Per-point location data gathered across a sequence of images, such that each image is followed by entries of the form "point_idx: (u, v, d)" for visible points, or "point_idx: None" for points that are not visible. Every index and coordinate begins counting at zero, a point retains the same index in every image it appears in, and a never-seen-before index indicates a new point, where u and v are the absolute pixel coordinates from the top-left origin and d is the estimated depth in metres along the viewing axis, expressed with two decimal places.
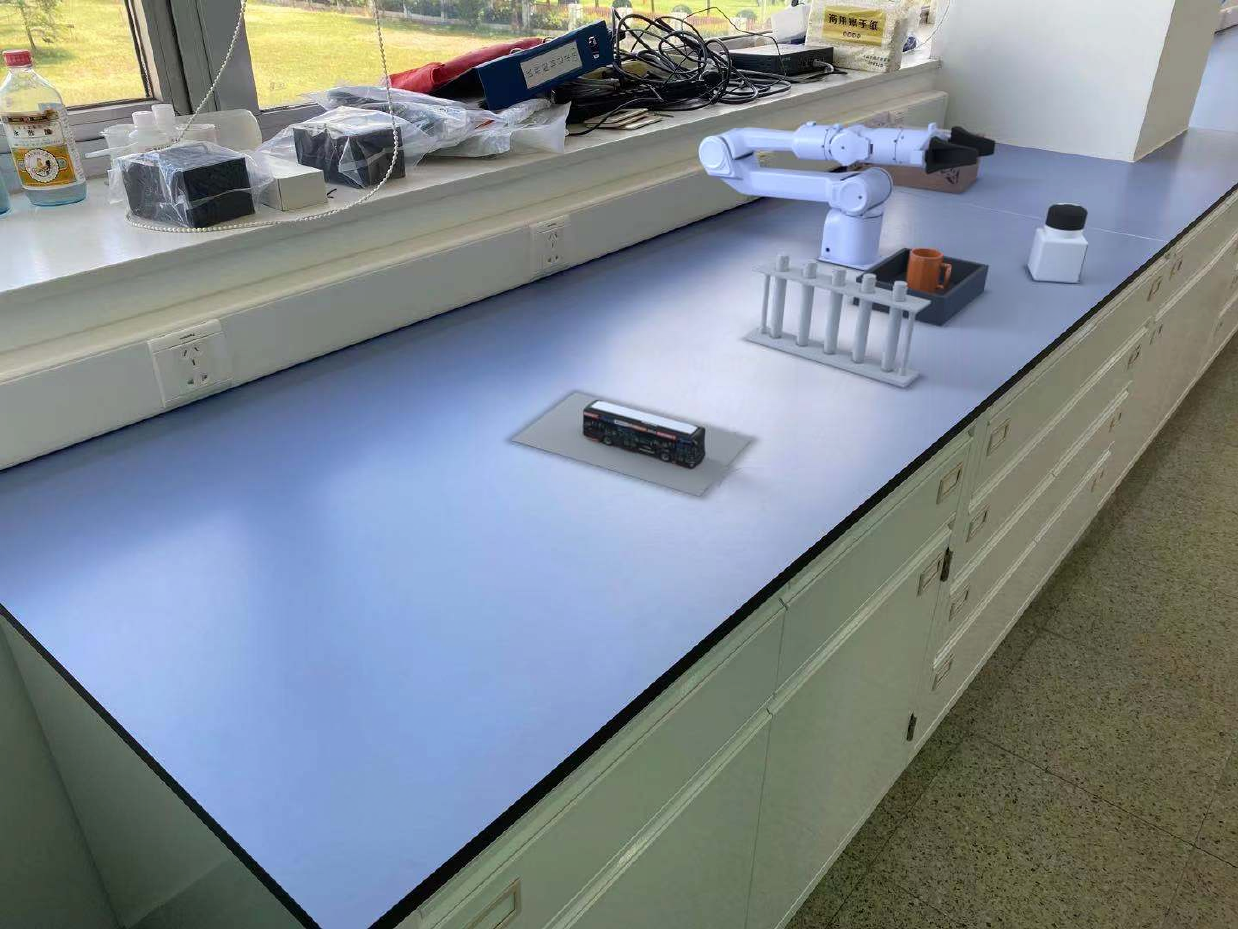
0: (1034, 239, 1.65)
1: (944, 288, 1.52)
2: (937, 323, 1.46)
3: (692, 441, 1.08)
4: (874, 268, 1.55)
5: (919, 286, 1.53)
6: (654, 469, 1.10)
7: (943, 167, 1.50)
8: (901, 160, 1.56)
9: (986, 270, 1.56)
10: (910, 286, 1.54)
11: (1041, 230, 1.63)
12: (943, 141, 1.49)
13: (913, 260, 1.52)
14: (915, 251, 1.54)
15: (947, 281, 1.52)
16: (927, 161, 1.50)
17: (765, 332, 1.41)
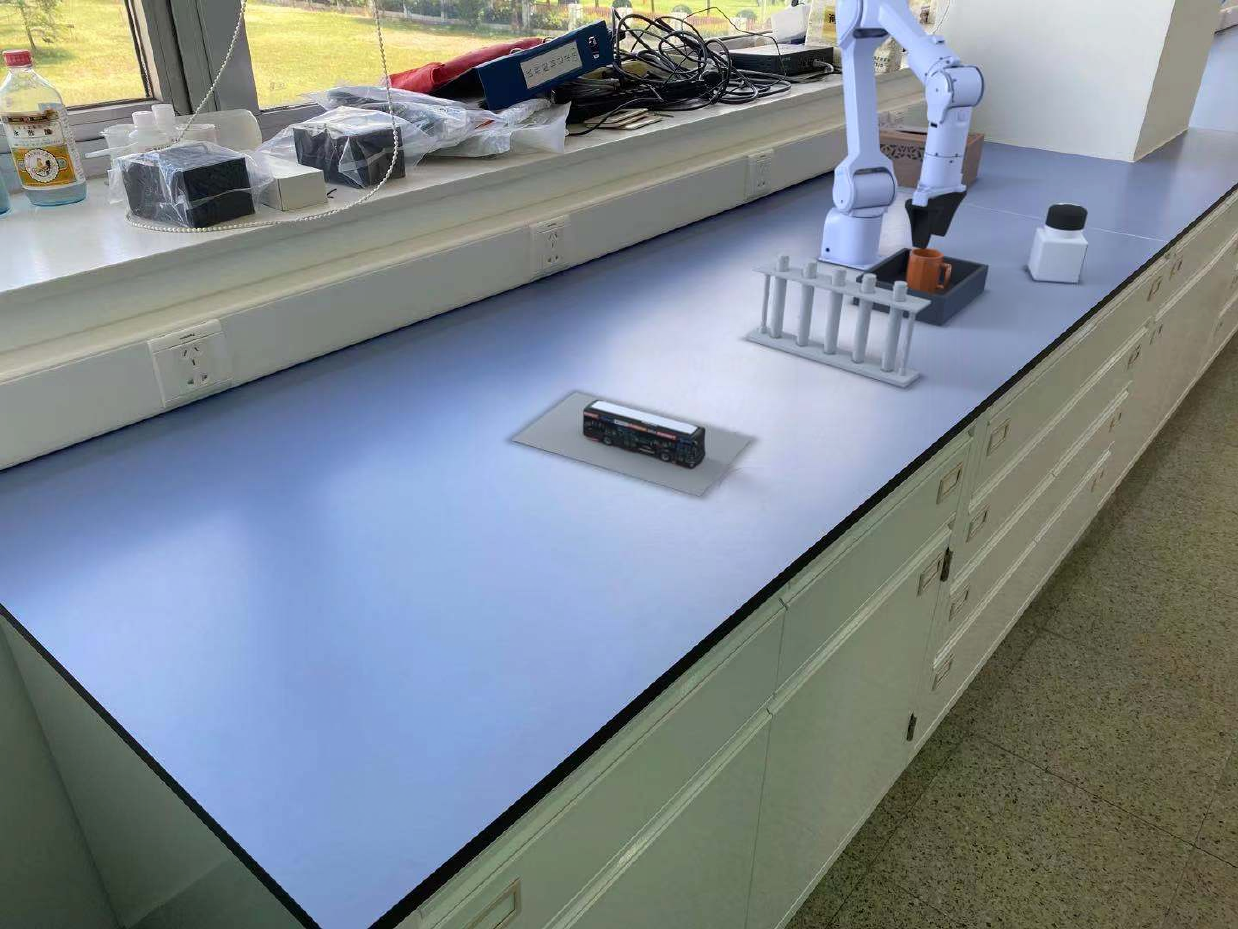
0: (1034, 239, 1.65)
1: (944, 288, 1.52)
2: (937, 323, 1.46)
3: (692, 441, 1.08)
4: (874, 268, 1.55)
5: (919, 286, 1.53)
6: (654, 469, 1.10)
7: (910, 218, 1.46)
8: (926, 160, 1.44)
9: (986, 270, 1.56)
10: (910, 286, 1.54)
11: (1041, 230, 1.63)
12: (936, 217, 1.44)
13: (913, 260, 1.52)
14: (915, 251, 1.54)
15: (947, 281, 1.52)
16: (916, 205, 1.44)
17: (765, 332, 1.41)
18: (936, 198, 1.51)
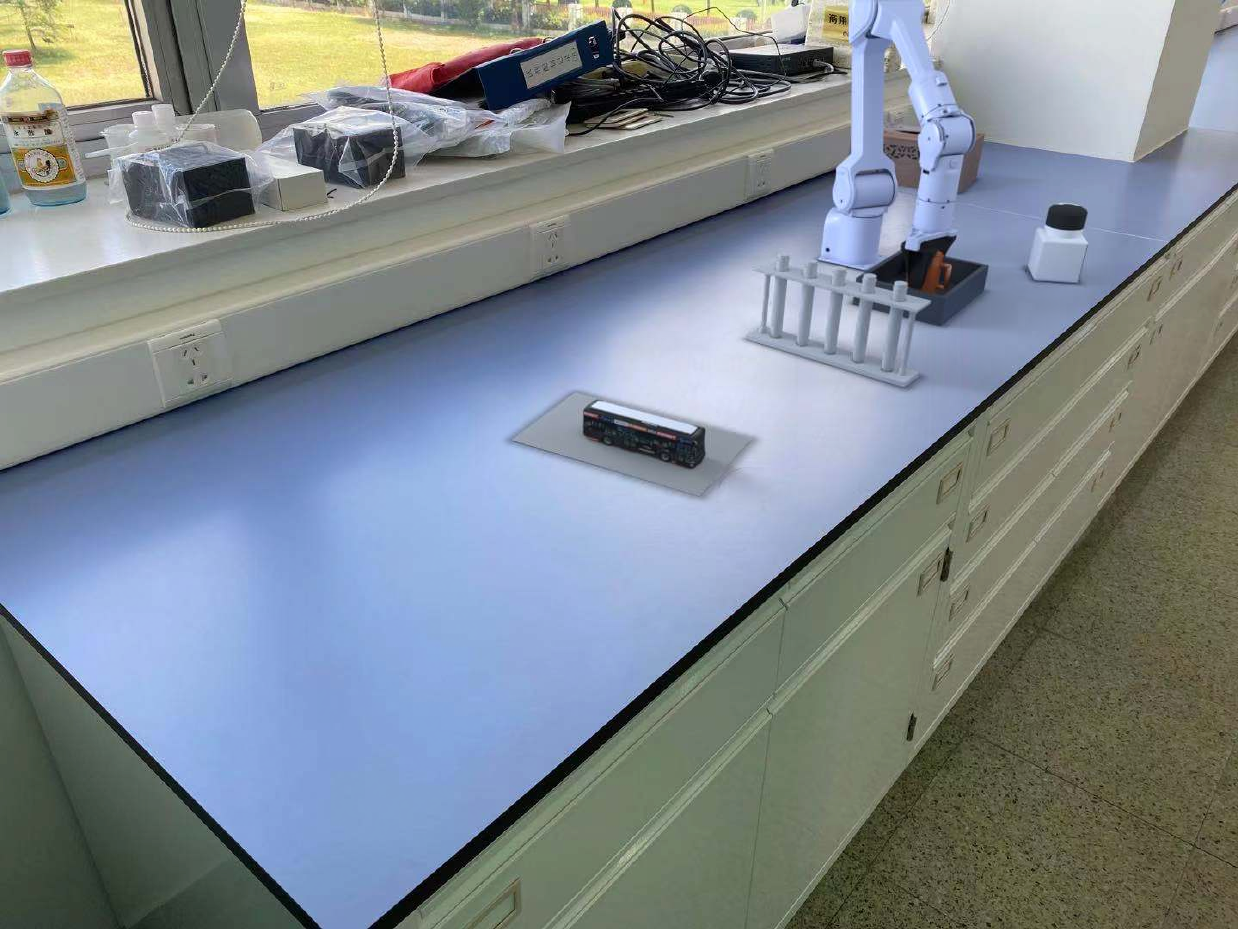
0: (1034, 239, 1.65)
1: (944, 288, 1.52)
2: (937, 323, 1.46)
3: (692, 441, 1.08)
4: (874, 268, 1.55)
5: None
6: (654, 469, 1.10)
7: (906, 259, 1.50)
8: (919, 205, 1.47)
9: (986, 270, 1.56)
10: None
11: (1041, 230, 1.63)
12: (932, 258, 1.49)
13: None
14: None
15: (947, 281, 1.52)
16: None
17: (765, 332, 1.41)
18: None
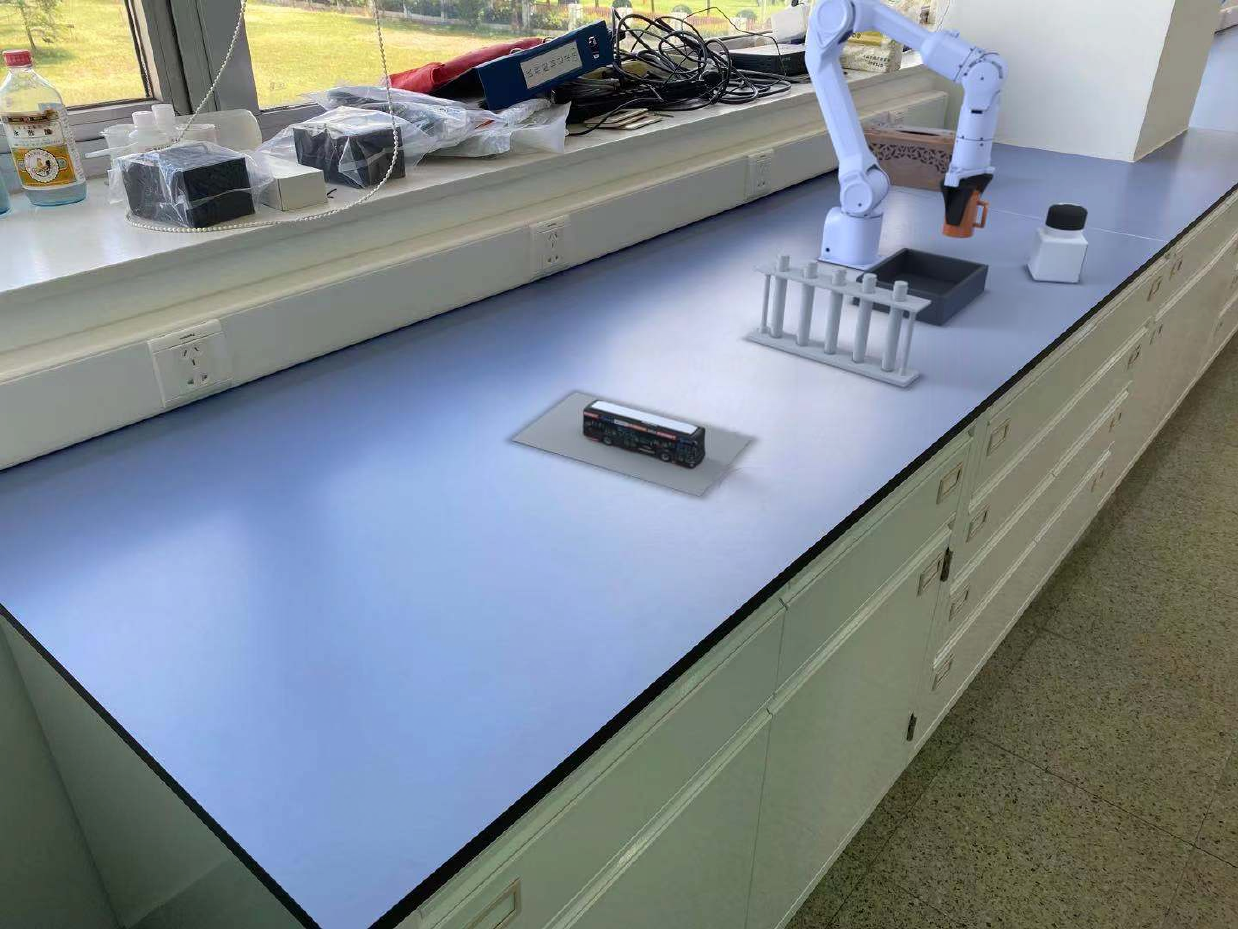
0: (1034, 239, 1.65)
1: (981, 226, 1.57)
2: (937, 323, 1.46)
3: (692, 441, 1.08)
4: (874, 268, 1.55)
5: None
6: (654, 469, 1.10)
7: (944, 197, 1.55)
8: (958, 143, 1.52)
9: (986, 270, 1.56)
10: None
11: (1041, 230, 1.63)
12: (970, 195, 1.54)
13: None
14: None
15: (984, 219, 1.57)
16: None
17: (765, 332, 1.41)
18: None
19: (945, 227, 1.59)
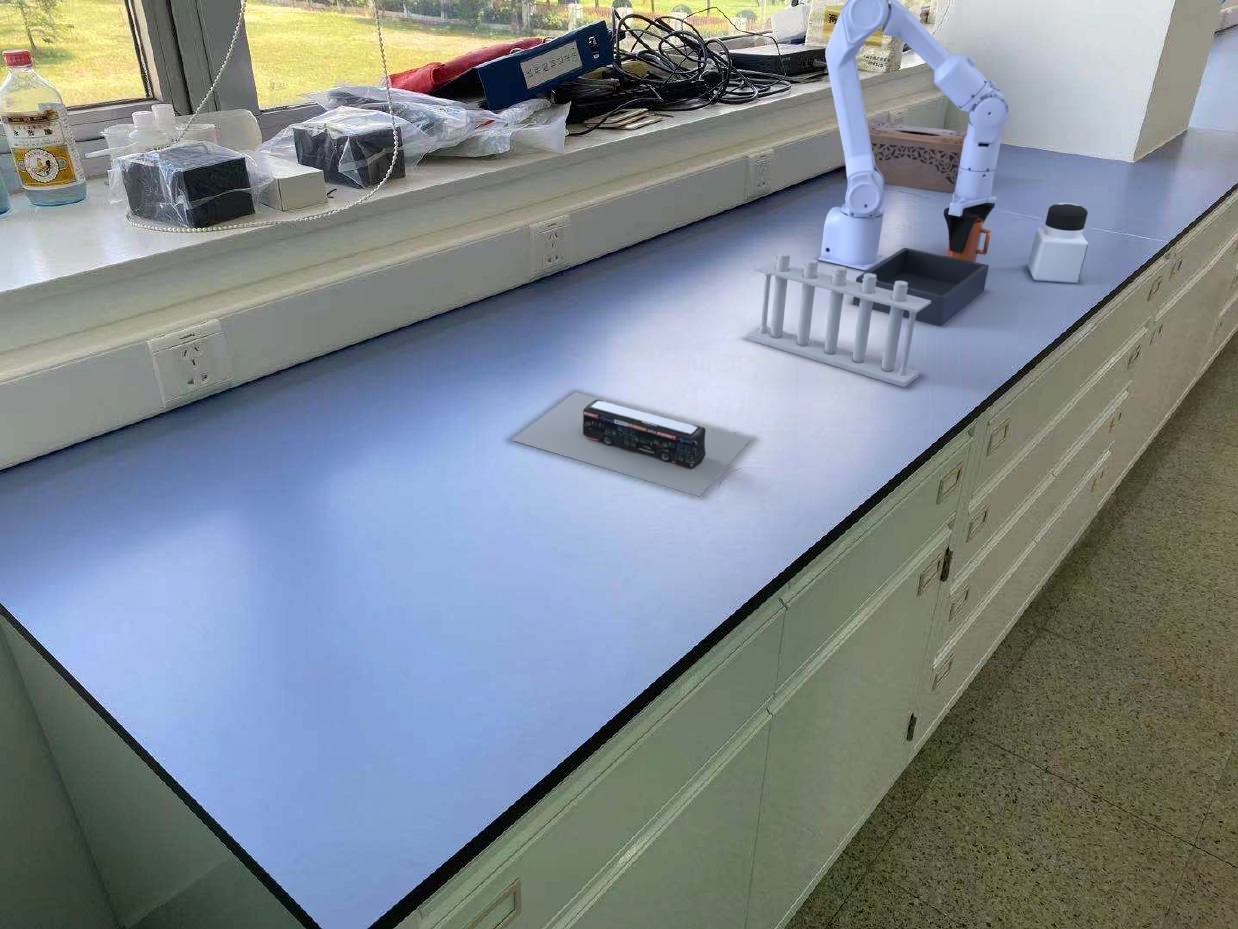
0: (1034, 239, 1.65)
1: (984, 252, 1.63)
2: (937, 323, 1.46)
3: (692, 441, 1.08)
4: (874, 268, 1.55)
5: None
6: (654, 469, 1.10)
7: (948, 225, 1.61)
8: (961, 174, 1.58)
9: (986, 270, 1.56)
10: None
11: (1041, 230, 1.63)
12: (973, 224, 1.59)
13: None
14: None
15: (987, 246, 1.63)
16: None
17: (766, 332, 1.41)
18: None
19: (949, 253, 1.65)
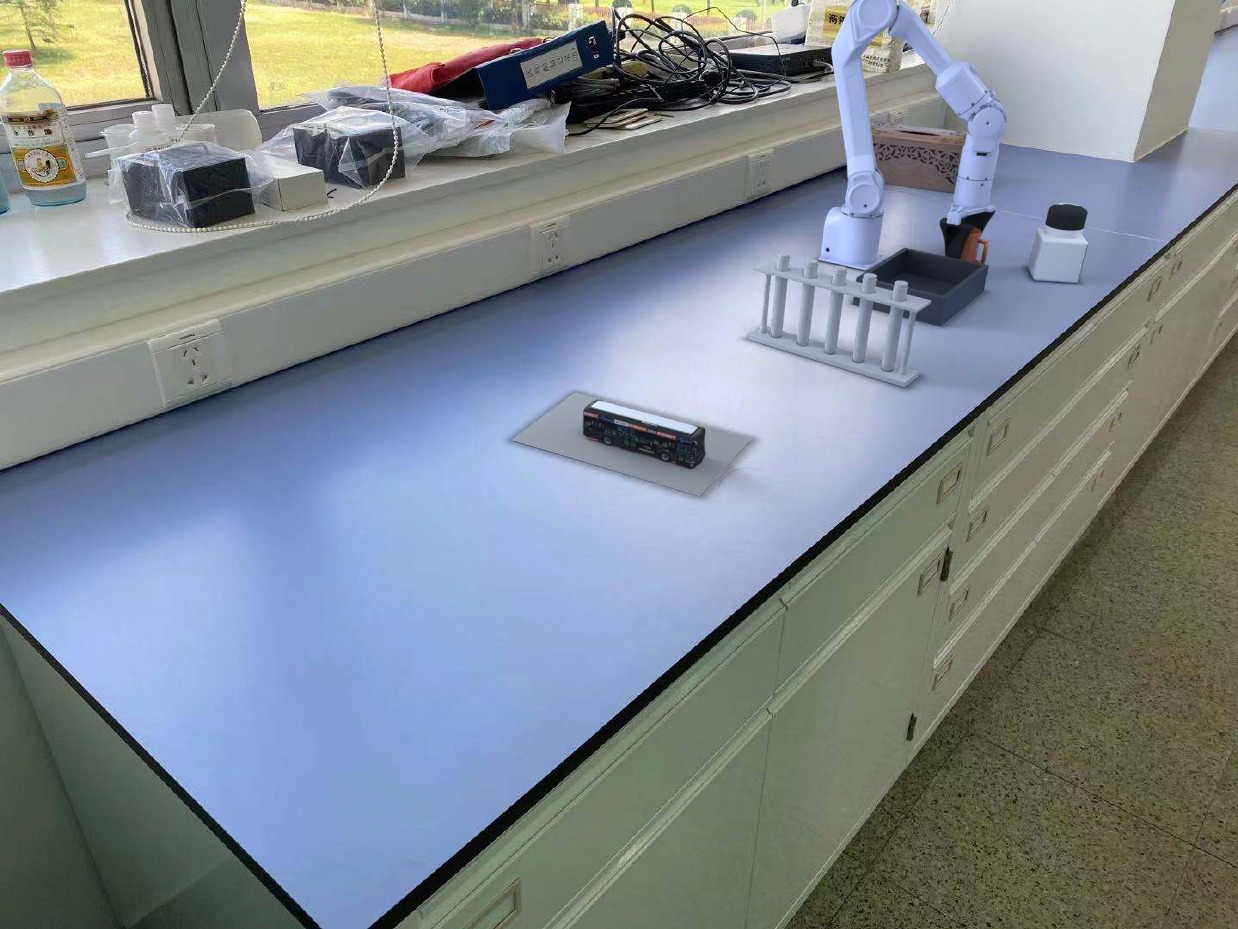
0: (1034, 239, 1.65)
1: (982, 263, 1.64)
2: (937, 323, 1.46)
3: (692, 441, 1.08)
4: (874, 268, 1.55)
5: None
6: (654, 469, 1.10)
7: (944, 235, 1.61)
8: (959, 183, 1.59)
9: (986, 270, 1.56)
10: None
11: (1041, 230, 1.63)
12: (968, 234, 1.59)
13: None
14: None
15: (985, 256, 1.64)
16: (950, 224, 1.59)
17: (766, 332, 1.41)
18: (967, 216, 1.66)
19: None
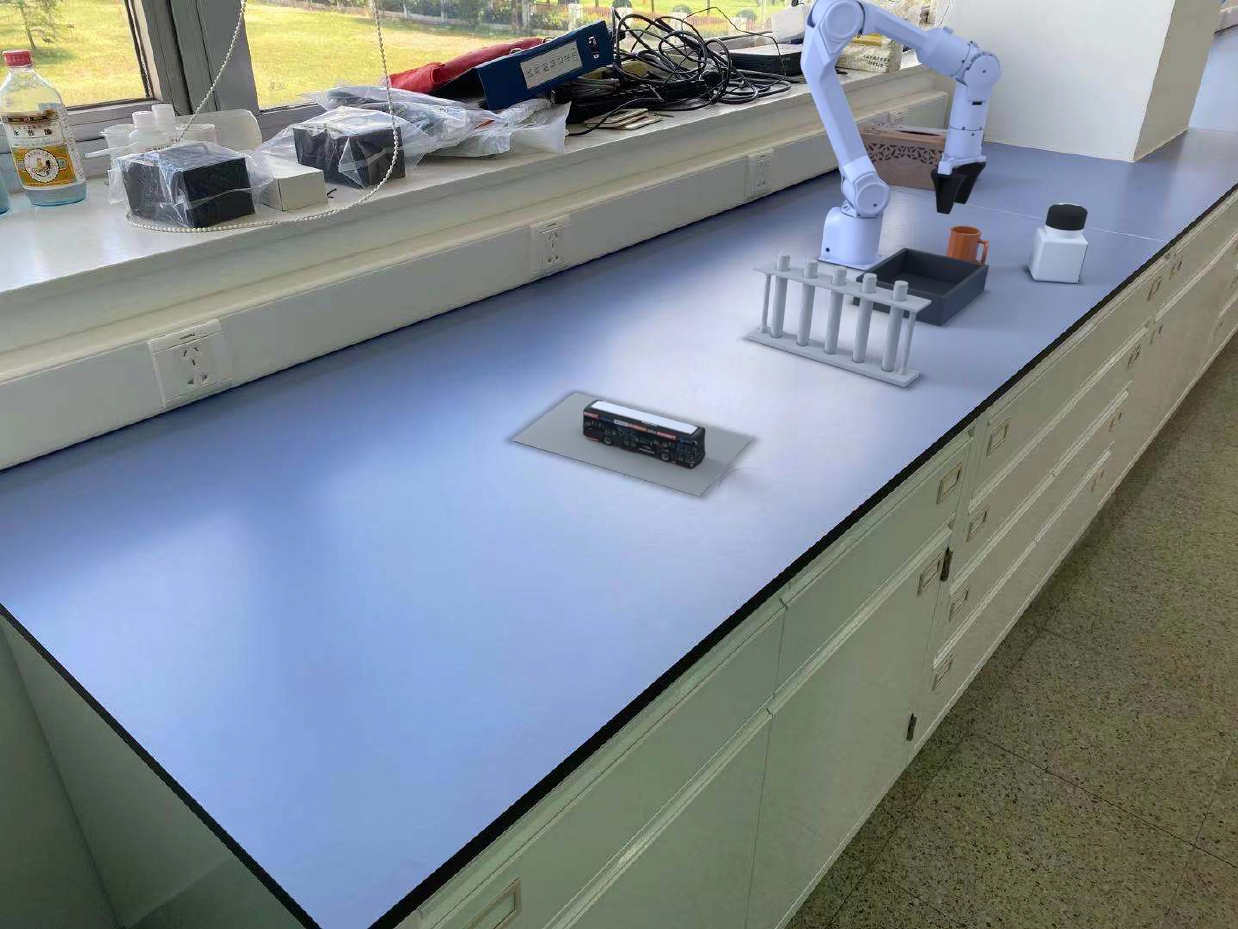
0: (1034, 239, 1.65)
1: (982, 263, 1.64)
2: (937, 323, 1.46)
3: (692, 441, 1.08)
4: (874, 268, 1.55)
5: None
6: (654, 469, 1.10)
7: (935, 186, 1.62)
8: (950, 133, 1.59)
9: (986, 270, 1.56)
10: None
11: (1041, 230, 1.63)
12: (959, 184, 1.60)
13: (953, 236, 1.63)
14: (954, 228, 1.66)
15: (985, 256, 1.64)
16: (941, 174, 1.59)
17: (766, 332, 1.41)
18: (958, 169, 1.67)
19: None
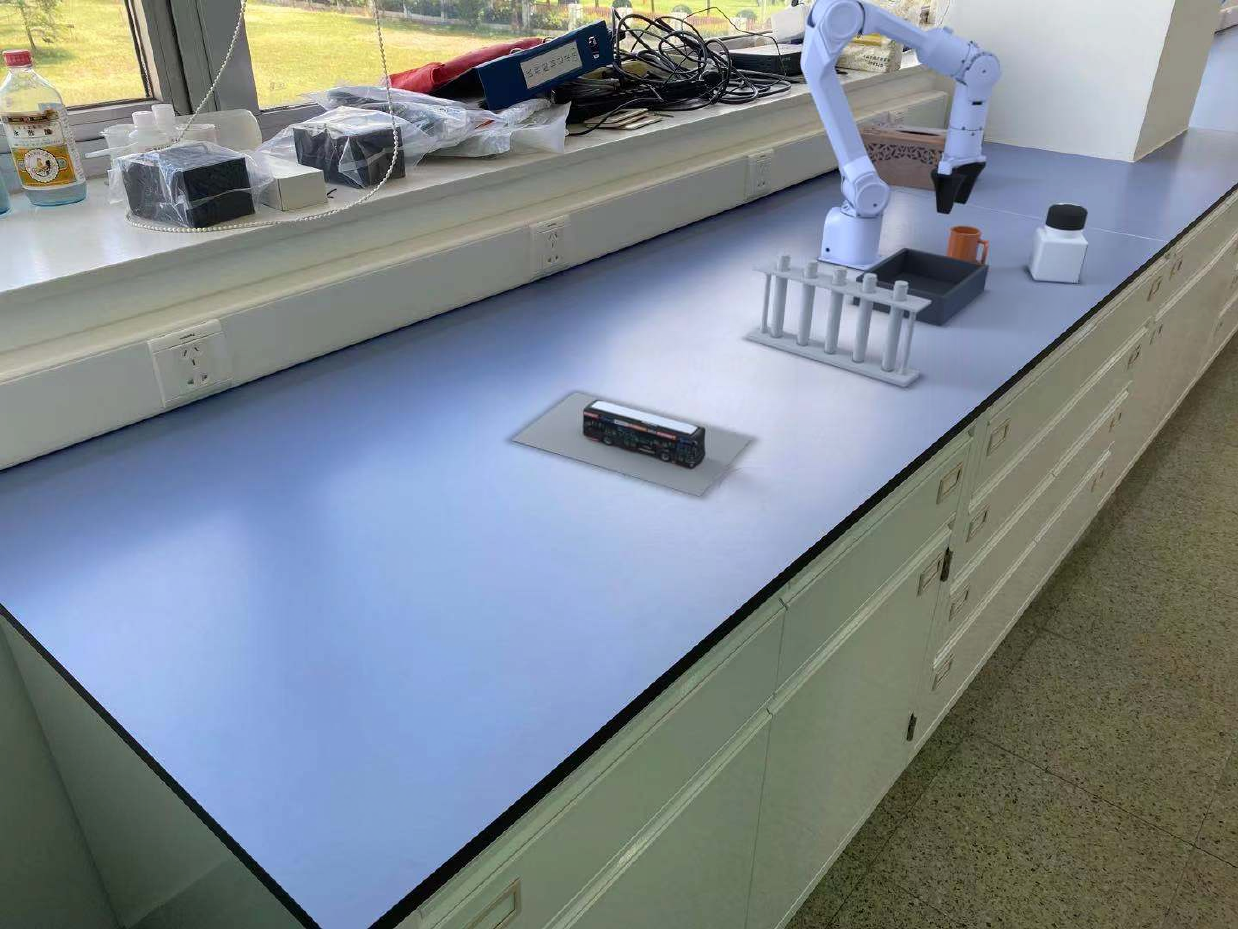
0: (1034, 239, 1.65)
1: (982, 263, 1.64)
2: (937, 323, 1.46)
3: (692, 441, 1.08)
4: (874, 268, 1.55)
5: None
6: (654, 469, 1.10)
7: (935, 186, 1.62)
8: (950, 133, 1.59)
9: (986, 270, 1.56)
10: None
11: (1041, 230, 1.63)
12: (959, 184, 1.60)
13: (953, 236, 1.63)
14: (954, 228, 1.66)
15: (985, 256, 1.64)
16: (941, 174, 1.59)
17: (766, 332, 1.41)
18: (958, 169, 1.67)
19: None
